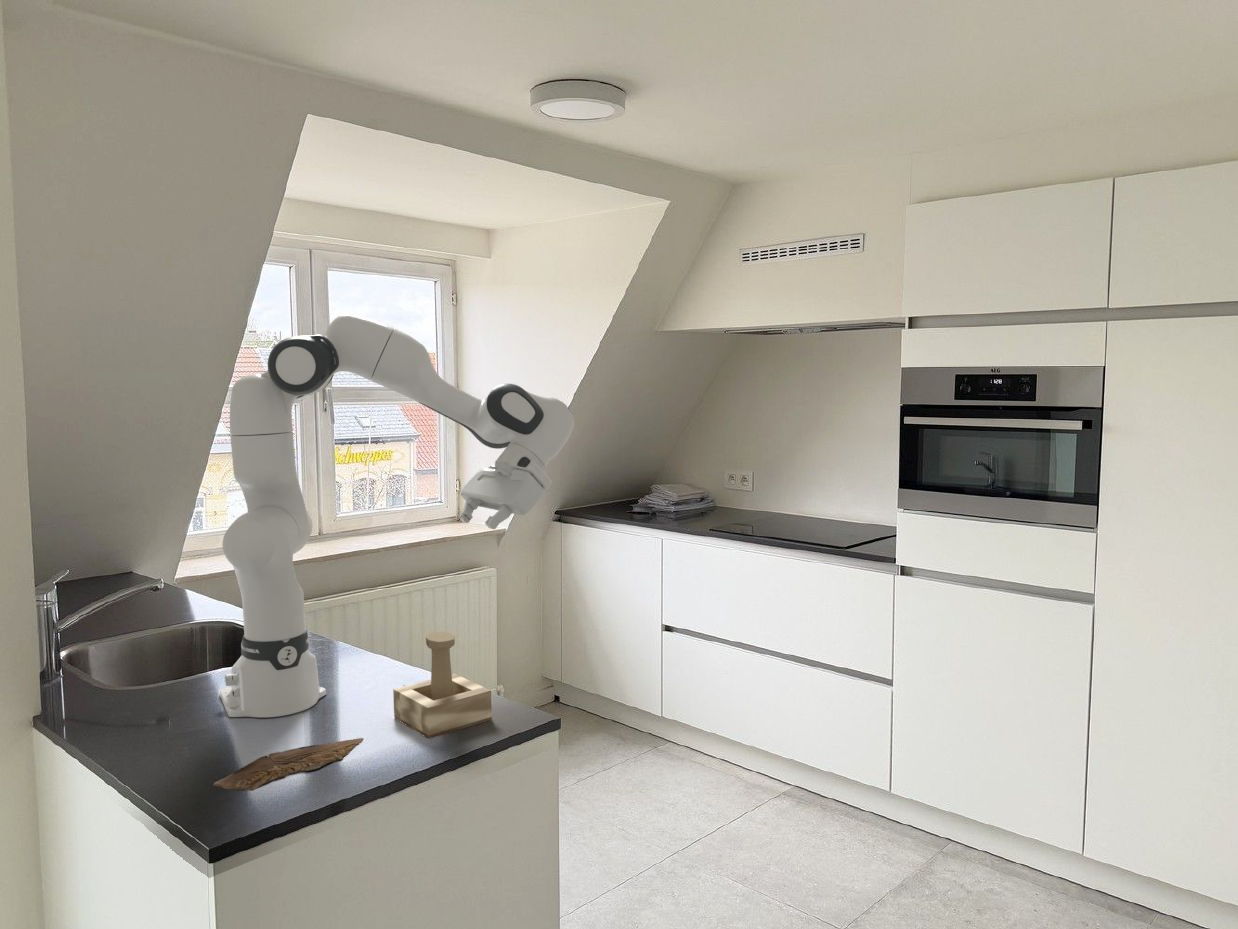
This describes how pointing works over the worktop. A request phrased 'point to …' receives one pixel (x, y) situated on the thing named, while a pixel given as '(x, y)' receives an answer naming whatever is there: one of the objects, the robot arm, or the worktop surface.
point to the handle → (440, 664)
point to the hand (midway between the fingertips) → (475, 523)
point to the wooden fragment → (286, 764)
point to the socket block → (442, 707)
